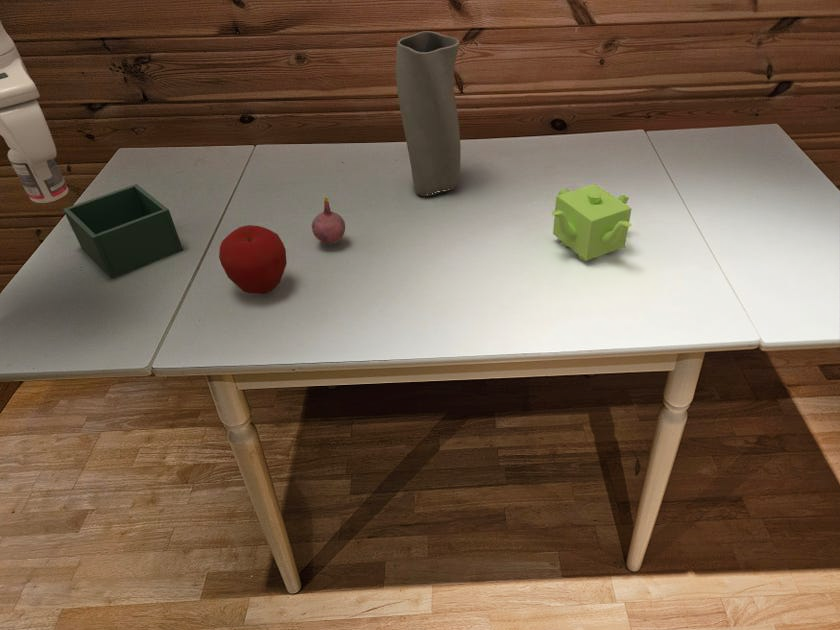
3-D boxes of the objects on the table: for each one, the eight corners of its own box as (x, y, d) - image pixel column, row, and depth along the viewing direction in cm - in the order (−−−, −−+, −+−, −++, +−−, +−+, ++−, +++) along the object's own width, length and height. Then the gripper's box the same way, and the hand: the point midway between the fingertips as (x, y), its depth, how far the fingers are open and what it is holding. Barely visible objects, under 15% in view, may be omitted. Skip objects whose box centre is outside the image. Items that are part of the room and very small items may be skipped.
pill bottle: (66, 183, 102) (36, 122, 96) (72, 197, 99) (42, 135, 92) (27, 193, 100) (-5, 131, 94) (33, 207, 97) (-1, 144, 90)
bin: (111, 279, 117) (92, 237, 111) (82, 249, 124) (62, 208, 118) (183, 249, 124) (168, 209, 118) (151, 223, 131) (136, 183, 125)
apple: (226, 278, 117) (208, 221, 109) (285, 264, 121) (272, 208, 113) (236, 313, 110) (217, 254, 102) (299, 297, 113) (286, 239, 105)
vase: (423, 207, 136) (414, 56, 116) (395, 184, 144) (382, 38, 123) (472, 192, 141) (472, 44, 121) (443, 170, 149) (438, 27, 128)
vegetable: (351, 249, 125) (344, 202, 118) (319, 256, 123) (310, 208, 116) (343, 233, 129) (336, 187, 122) (312, 240, 127) (303, 193, 120)
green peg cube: (622, 273, 119) (632, 219, 111) (545, 264, 121) (549, 210, 114) (627, 230, 130) (636, 178, 122) (556, 222, 132) (560, 171, 124)
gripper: (-59, 60, 91) (-8, 154, 101) (-15, 101, 81) (38, 202, 90) (-10, 50, 94) (35, 141, 104) (39, 88, 84) (85, 186, 93)
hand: (37, 170), depth 97 cm, fingers closed on pill bottle, 5 cm apart
